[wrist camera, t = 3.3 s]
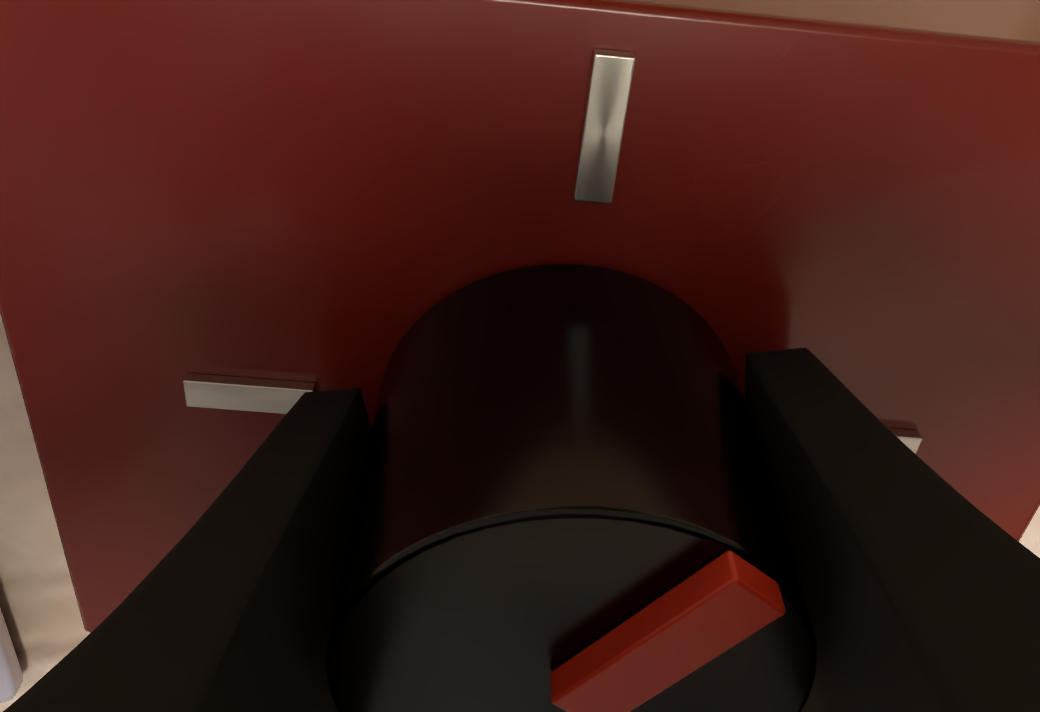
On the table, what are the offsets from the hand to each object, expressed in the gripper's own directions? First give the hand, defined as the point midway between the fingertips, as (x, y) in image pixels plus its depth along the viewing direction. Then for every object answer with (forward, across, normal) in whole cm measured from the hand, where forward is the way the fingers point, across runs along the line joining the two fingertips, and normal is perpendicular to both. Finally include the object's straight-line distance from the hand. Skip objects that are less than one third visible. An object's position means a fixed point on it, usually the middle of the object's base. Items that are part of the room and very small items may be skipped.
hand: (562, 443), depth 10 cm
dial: (0, 0, 0) cm, 0 cm away
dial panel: (+3, 0, 0) cm, 3 cm away
